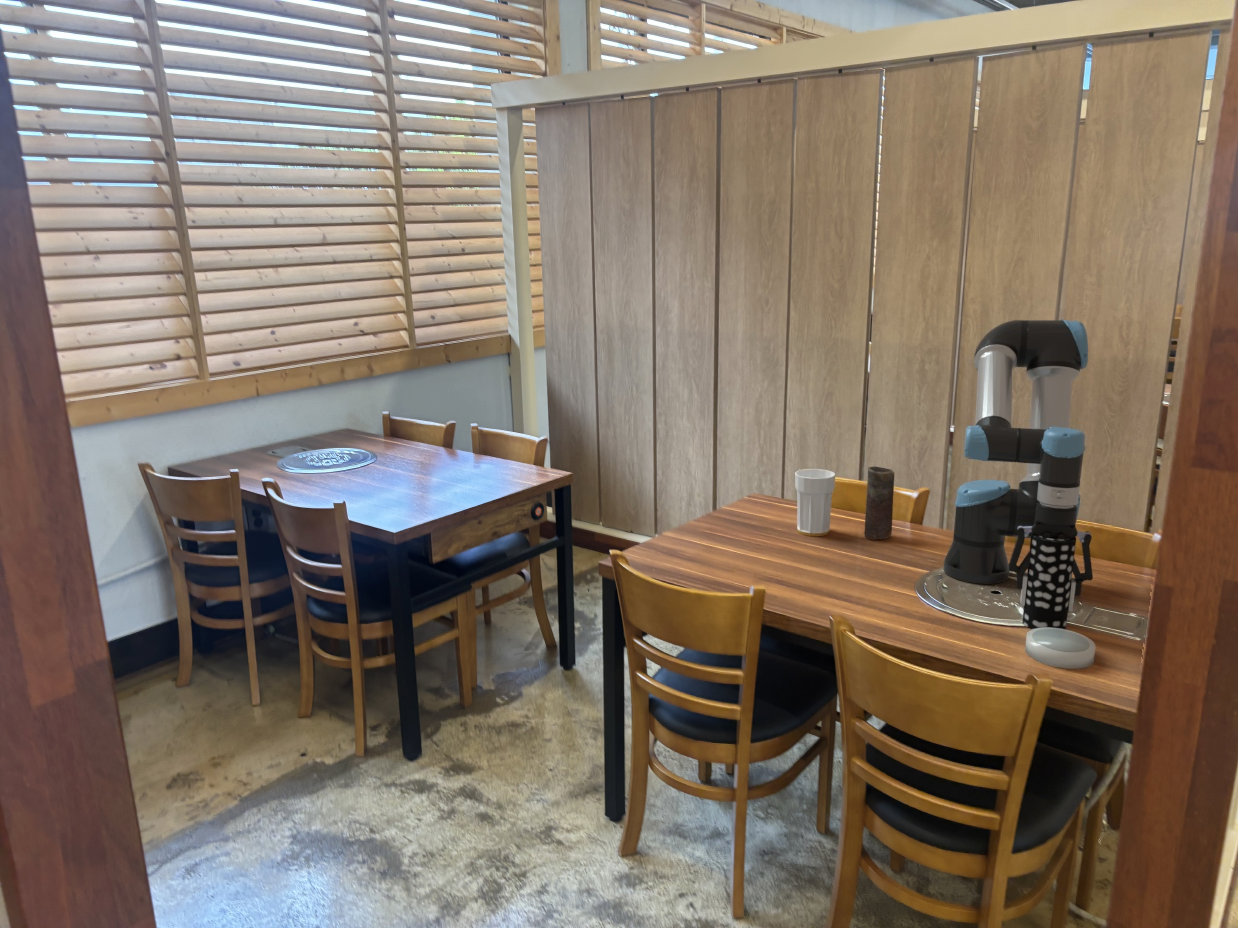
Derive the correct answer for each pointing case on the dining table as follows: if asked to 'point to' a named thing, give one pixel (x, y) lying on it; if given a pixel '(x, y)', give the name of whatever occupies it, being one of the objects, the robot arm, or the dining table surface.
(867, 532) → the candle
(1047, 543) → the spotted tube
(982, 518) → the robot arm
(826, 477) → the cup
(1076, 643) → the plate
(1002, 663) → the dining table surface
